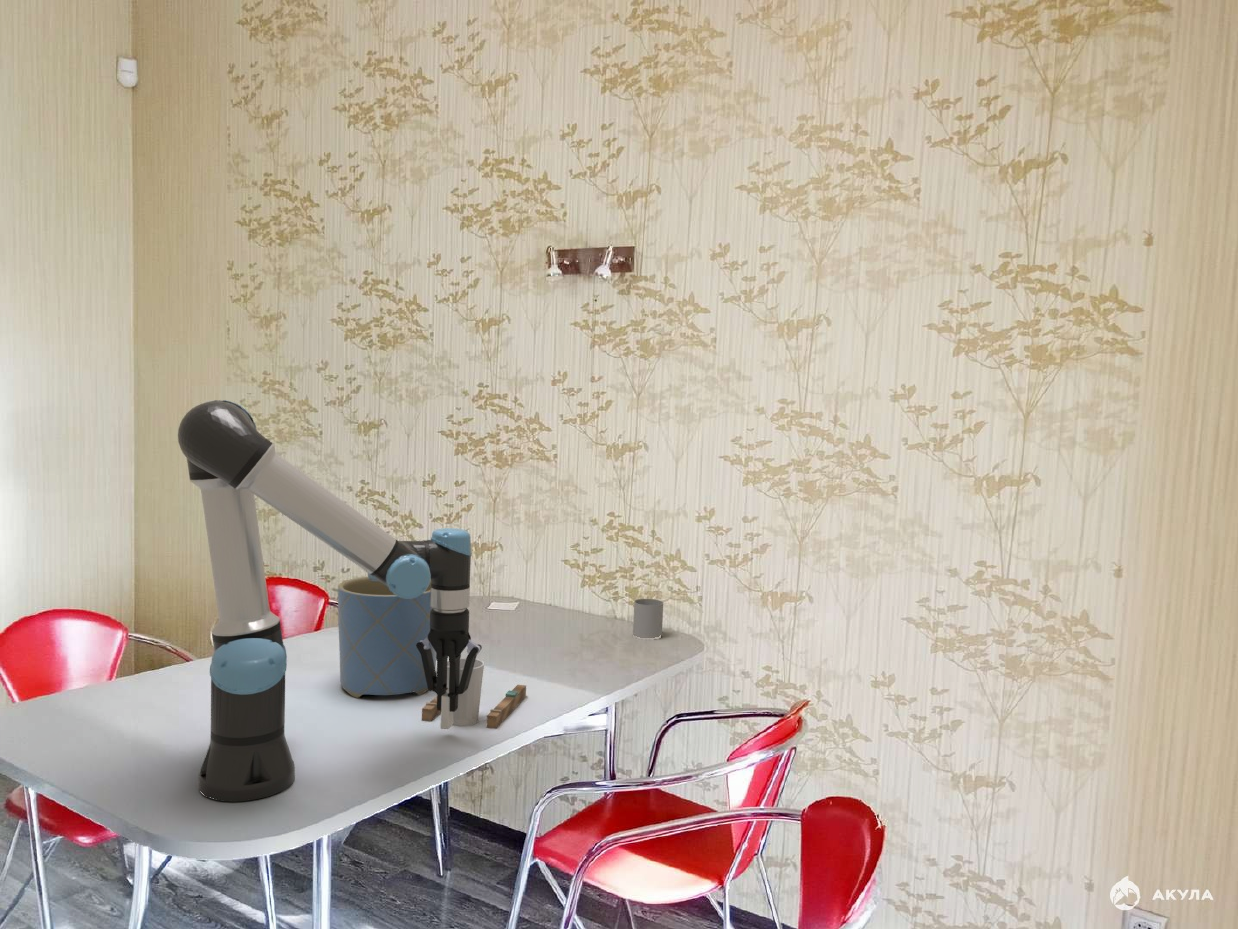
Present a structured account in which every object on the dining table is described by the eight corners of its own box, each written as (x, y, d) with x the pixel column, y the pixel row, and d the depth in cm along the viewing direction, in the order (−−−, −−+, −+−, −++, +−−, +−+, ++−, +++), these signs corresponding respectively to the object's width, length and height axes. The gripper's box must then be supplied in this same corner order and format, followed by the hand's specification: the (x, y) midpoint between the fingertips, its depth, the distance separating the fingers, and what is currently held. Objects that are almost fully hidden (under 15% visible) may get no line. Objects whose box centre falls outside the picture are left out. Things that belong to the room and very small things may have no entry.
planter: (334, 705, 195) (336, 596, 194) (337, 673, 217) (339, 575, 216) (442, 699, 202) (445, 594, 200) (434, 669, 223) (437, 574, 222)
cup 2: (629, 638, 260) (630, 603, 259) (637, 631, 268) (638, 597, 267) (658, 641, 257) (659, 606, 257) (665, 634, 265) (666, 600, 265)
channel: (496, 728, 185) (496, 713, 185) (421, 720, 188) (421, 705, 188) (526, 696, 206) (526, 682, 206) (458, 689, 209) (458, 676, 209)
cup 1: (474, 729, 185) (476, 670, 184) (437, 725, 186) (438, 667, 185) (487, 716, 192) (489, 660, 192) (452, 712, 194) (453, 656, 193)
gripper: (488, 607, 181) (484, 723, 183) (426, 601, 183) (423, 717, 185) (475, 615, 173) (471, 737, 175) (410, 610, 176) (407, 729, 178)
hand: (446, 726), depth 180 cm, fingers closed
